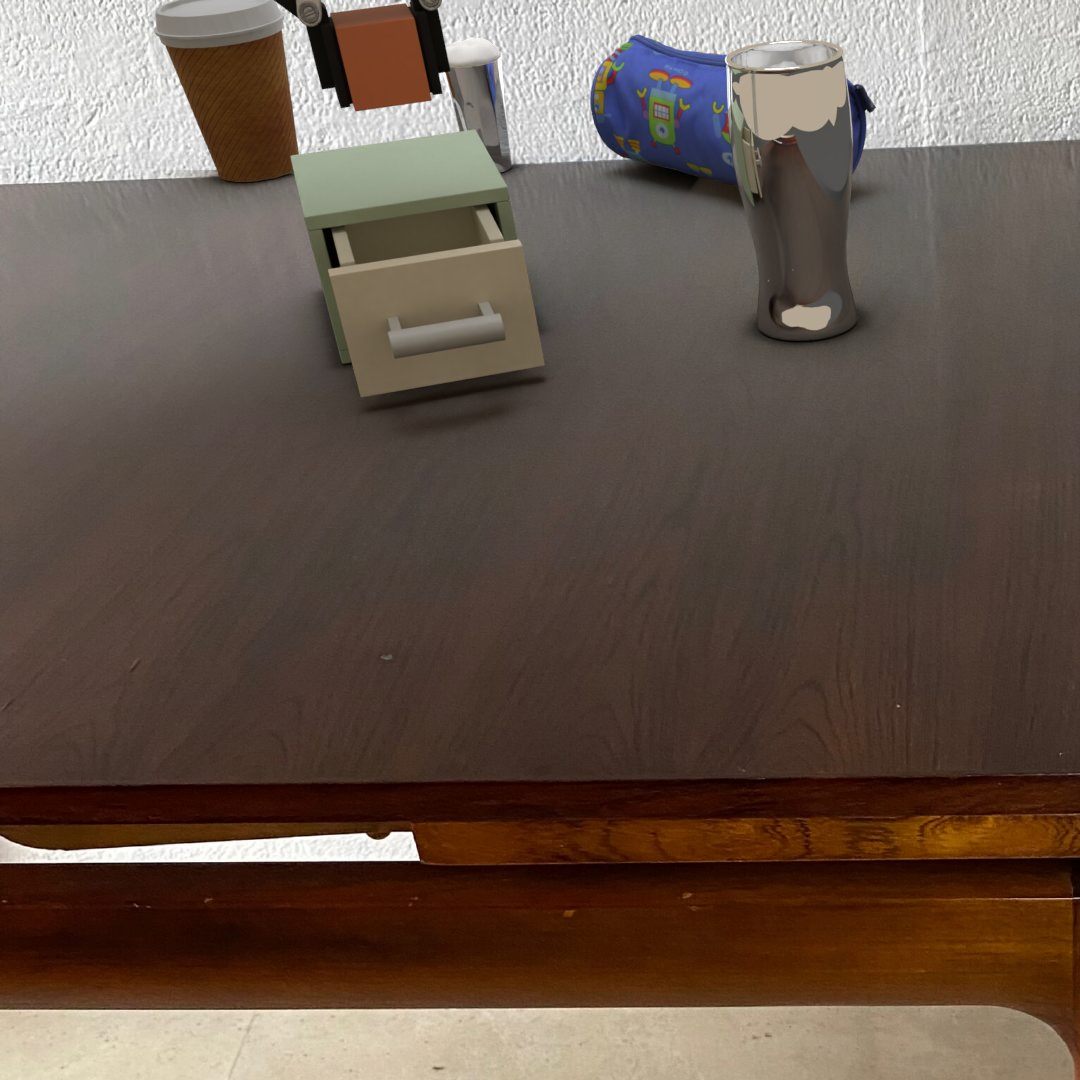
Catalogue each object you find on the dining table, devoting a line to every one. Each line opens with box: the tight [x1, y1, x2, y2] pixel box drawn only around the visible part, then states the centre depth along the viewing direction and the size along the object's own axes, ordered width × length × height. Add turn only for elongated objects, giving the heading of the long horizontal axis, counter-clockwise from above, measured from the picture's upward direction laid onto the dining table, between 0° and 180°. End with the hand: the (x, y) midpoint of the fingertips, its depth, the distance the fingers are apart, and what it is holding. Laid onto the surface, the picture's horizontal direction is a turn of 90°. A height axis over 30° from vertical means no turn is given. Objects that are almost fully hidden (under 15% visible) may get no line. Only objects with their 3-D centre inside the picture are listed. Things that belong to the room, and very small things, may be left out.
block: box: [329, 2, 433, 112], centre depth 91 cm, size 4×4×4 cm
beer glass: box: [725, 39, 858, 342], centre depth 100 cm, size 7×7×15 cm
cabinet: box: [291, 130, 518, 365], centre depth 107 cm, size 14×12×9 cm
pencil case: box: [589, 34, 877, 187], centre depth 125 cm, size 22×9×10 cm, turn 49°
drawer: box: [328, 204, 546, 398], centre depth 99 cm, size 17×10×7 cm, turn 19°
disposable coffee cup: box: [153, 0, 300, 183], centre depth 133 cm, size 10×10×12 cm
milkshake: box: [442, 36, 512, 174], centre depth 131 cm, size 4×5×10 cm
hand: (388, 91), depth 92 cm, fingers closed on block, 4 cm apart
